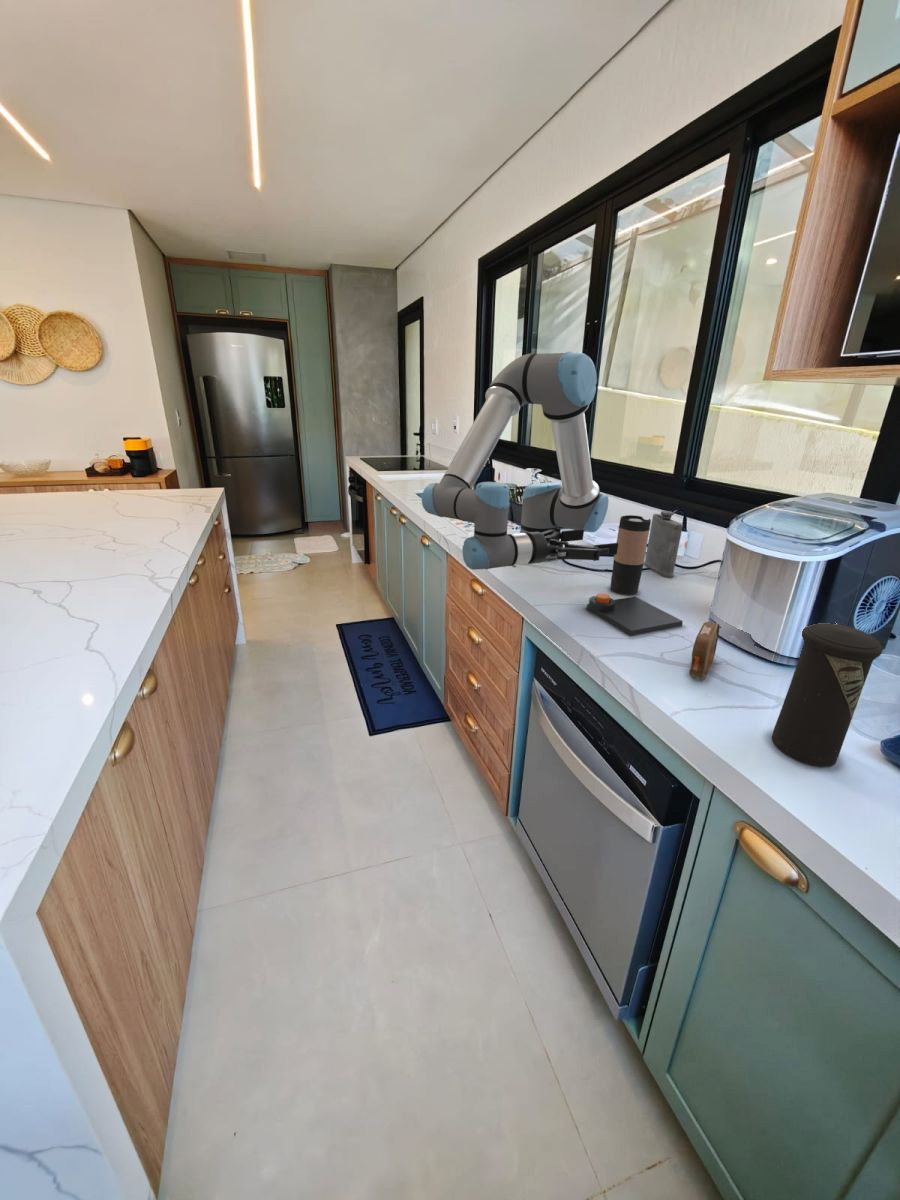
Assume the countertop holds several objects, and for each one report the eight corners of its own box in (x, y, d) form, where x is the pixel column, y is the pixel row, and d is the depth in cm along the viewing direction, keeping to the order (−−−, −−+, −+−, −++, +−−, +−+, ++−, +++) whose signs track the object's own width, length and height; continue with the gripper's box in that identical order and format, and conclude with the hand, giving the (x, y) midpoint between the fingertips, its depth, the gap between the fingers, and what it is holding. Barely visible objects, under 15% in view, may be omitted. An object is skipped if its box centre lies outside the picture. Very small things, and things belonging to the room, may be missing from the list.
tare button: (592, 600, 124) (593, 594, 123) (603, 598, 125) (604, 592, 124) (601, 605, 121) (602, 599, 120) (612, 603, 122) (612, 597, 121)
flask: (662, 577, 148) (674, 517, 141) (640, 562, 161) (650, 506, 154) (674, 577, 148) (686, 517, 141) (651, 562, 161) (661, 506, 154)
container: (824, 777, 71) (873, 653, 63) (758, 743, 78) (794, 627, 70) (847, 754, 76) (895, 635, 68) (782, 724, 83) (820, 613, 75)
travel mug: (608, 593, 135) (619, 520, 127) (609, 584, 142) (620, 514, 134) (638, 597, 133) (651, 523, 125) (638, 587, 139) (651, 516, 132)
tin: (701, 687, 92) (711, 646, 89) (683, 681, 94) (692, 641, 91) (715, 655, 104) (724, 618, 101) (699, 651, 106) (707, 614, 102)
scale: (583, 608, 125) (584, 597, 124) (632, 600, 131) (634, 589, 130) (628, 636, 111) (630, 624, 110) (681, 626, 117) (684, 614, 116)
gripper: (500, 549, 132) (568, 542, 140) (553, 580, 111) (630, 570, 118) (502, 521, 129) (571, 516, 137) (557, 547, 108) (635, 539, 116)
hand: (598, 541), depth 128 cm, fingers open, 13 cm apart
